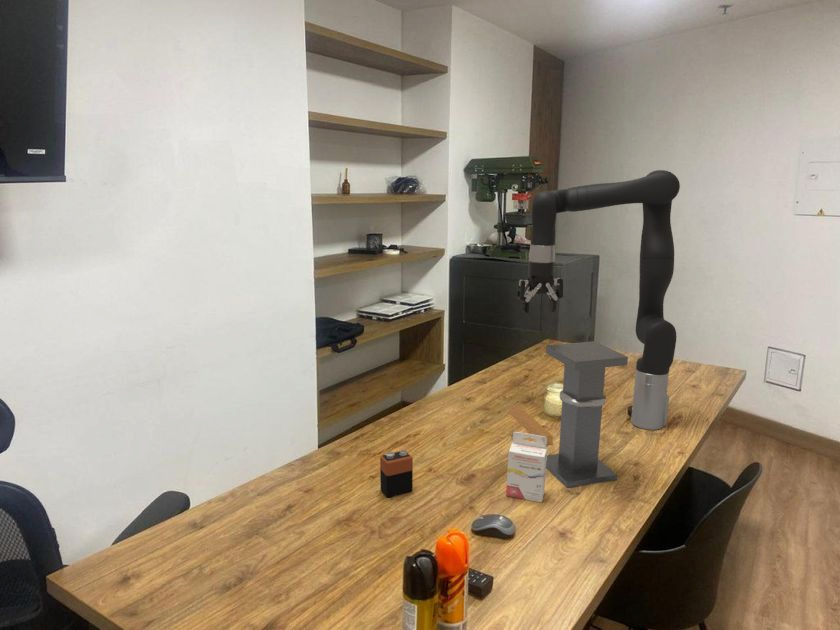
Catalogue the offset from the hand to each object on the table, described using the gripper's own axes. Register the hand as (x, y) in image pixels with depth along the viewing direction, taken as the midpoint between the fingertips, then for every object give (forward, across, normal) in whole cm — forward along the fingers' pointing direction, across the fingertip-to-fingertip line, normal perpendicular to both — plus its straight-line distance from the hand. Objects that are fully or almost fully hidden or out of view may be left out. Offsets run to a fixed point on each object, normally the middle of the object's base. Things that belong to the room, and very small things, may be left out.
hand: (539, 312), depth 178 cm
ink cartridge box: (+33, -24, -43) cm, 59 cm away
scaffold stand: (+33, -6, -36) cm, 49 cm away
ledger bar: (+34, -6, -9) cm, 35 cm away
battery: (+33, -53, -33) cm, 71 cm away
